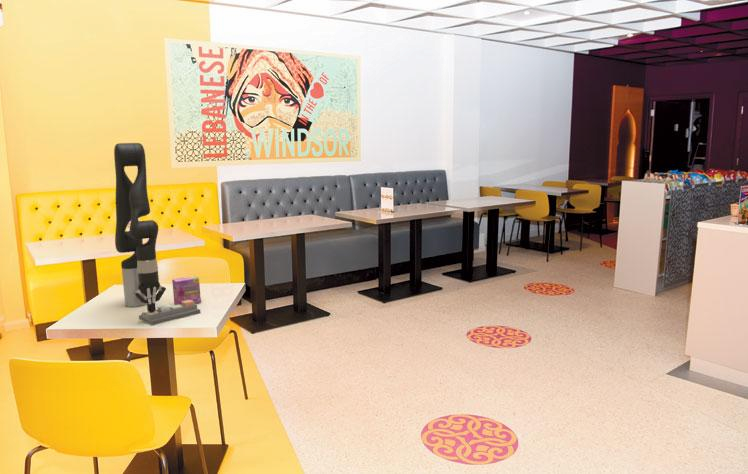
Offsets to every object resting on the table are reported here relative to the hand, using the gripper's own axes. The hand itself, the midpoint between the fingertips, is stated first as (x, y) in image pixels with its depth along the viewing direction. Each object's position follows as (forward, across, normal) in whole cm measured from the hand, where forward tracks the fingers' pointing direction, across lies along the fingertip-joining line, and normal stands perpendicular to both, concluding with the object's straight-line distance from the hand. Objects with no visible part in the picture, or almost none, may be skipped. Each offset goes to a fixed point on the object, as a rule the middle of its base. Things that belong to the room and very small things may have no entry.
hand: (151, 312), depth 226 cm
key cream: (+2, 0, 0) cm, 2 cm away
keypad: (+4, -8, -1) cm, 9 cm away
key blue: (+1, -5, 0) cm, 5 cm away
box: (+4, -21, -12) cm, 25 cm away
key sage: (+2, -10, 0) cm, 11 cm away
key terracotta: (+1, -16, 0) cm, 16 cm away
